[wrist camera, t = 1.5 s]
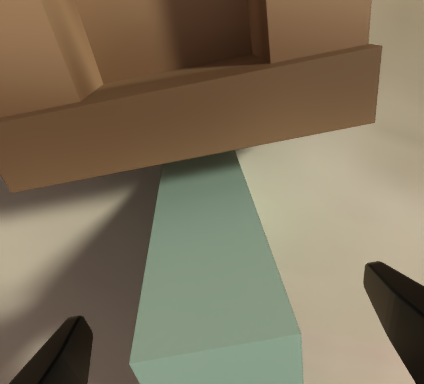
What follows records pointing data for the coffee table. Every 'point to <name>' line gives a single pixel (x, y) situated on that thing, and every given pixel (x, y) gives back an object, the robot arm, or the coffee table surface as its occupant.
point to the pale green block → (212, 286)
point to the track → (173, 80)
